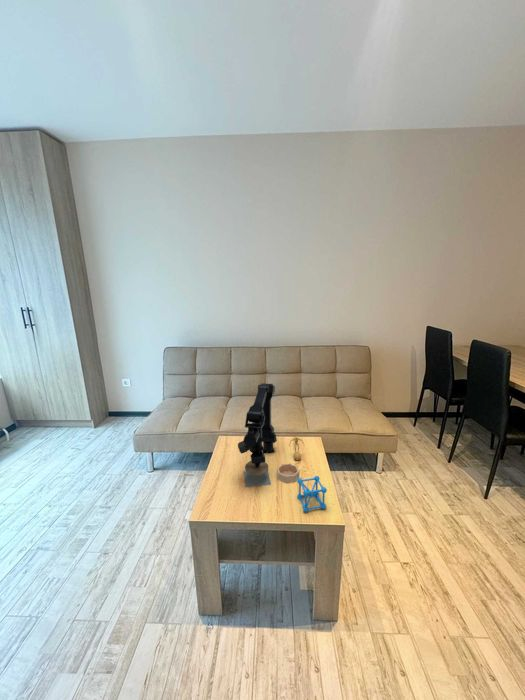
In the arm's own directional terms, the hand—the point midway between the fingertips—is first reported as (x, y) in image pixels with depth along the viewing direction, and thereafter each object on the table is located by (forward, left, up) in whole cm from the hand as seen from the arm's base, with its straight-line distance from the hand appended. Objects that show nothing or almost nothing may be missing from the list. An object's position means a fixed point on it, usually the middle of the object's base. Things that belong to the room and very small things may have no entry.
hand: (256, 465), depth 143 cm
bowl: (+1, +15, -7) cm, 17 cm away
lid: (0, 0, -1) cm, 1 cm away
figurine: (-14, +23, -7) cm, 28 cm away
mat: (0, 0, -7) cm, 7 cm away
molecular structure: (+20, +21, -8) cm, 30 cm away
